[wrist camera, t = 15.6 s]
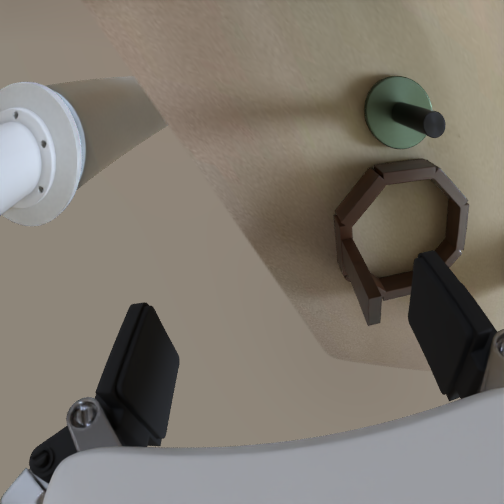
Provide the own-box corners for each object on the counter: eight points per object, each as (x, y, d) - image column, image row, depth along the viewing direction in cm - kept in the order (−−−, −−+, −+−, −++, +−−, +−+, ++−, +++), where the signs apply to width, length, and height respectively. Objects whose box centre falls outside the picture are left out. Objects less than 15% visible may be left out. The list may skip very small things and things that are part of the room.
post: (368, 151, 32) (397, 173, 25) (359, 78, 27) (389, 80, 21) (431, 144, 31) (469, 164, 24) (425, 75, 27) (466, 80, 20)
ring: (339, 294, 41) (364, 371, 30) (327, 171, 33) (366, 225, 22) (448, 270, 39) (493, 331, 28) (458, 154, 31) (528, 197, 20)
